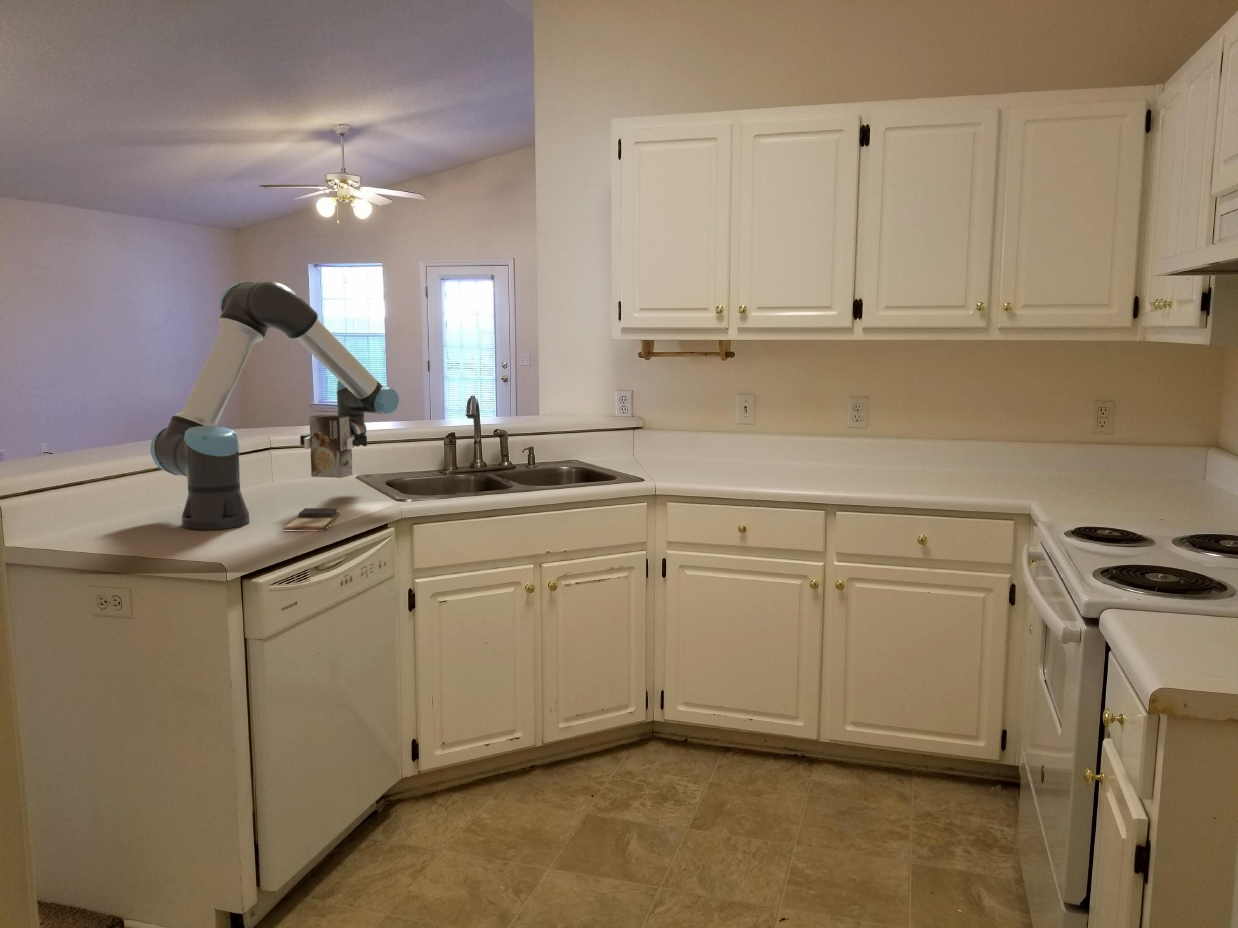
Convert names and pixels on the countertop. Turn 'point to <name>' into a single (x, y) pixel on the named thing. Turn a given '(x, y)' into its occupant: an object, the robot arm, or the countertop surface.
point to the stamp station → (313, 519)
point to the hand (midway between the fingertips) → (327, 444)
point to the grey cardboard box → (330, 446)
